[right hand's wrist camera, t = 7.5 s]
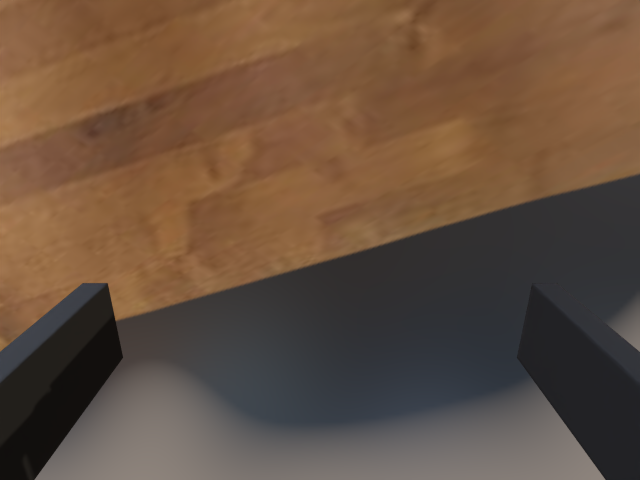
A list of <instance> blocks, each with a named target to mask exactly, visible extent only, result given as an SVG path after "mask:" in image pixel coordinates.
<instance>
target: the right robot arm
mask: <svg viewBox="0 0 640 480" xmlns="http://www.w3.org/2000/svg"><path fill="white" fill-rule="evenodd" d="M122 358H123V355H122V351H121V346H120V341H119V336H118V331H117V326H116V321H115V317H114V312H113V307H112V302H111V297H110V292H109V288H108V283H83V284H81V285H80V286H79V287H78V288H77V289H75V290H74V291H73V292H72V293H71V294H69V295H68V296H67V297H66V298H65V299H63V300H62V301H61V302H60V303H59V304H57V305H56V306H55V307H54V308H53V309H51V310H50V311H49V312H48V313H47V314H45V315H44V316H43V317H42V318H41V319H39V320H38V321H37V322H36V323H34V324H33V325H32V326H31V327H30V328H28V329H27V330H26V331H25V332H24V333H22V334H21V335H20V336H19V337H18V338H16V339H15V340H14V341H13V342H12V343H10V344H9V345H8V346H7V347H6V348H4V349H3V350H2V351H1V352H0V480H34V479H35V478H36V477H37V475H38V474H39V473H40V471H41V470H42V468H43V467H44V466H45V464H46V463H47V462H48V460H49V459H50V457H51V456H52V455H53V453H54V452H55V451H56V449H57V448H58V446H59V445H60V444H61V442H62V441H63V440H64V438H65V437H66V435H67V434H68V433H69V431H70V430H71V428H72V427H73V426H74V424H75V423H76V422H77V420H78V419H79V417H80V416H81V415H82V413H83V412H84V411H85V409H86V408H87V406H88V405H89V404H90V402H91V401H92V400H93V398H94V397H95V395H96V394H97V393H98V391H99V390H100V389H101V387H102V386H103V384H104V383H105V382H106V380H107V379H108V378H109V376H110V375H111V373H112V372H113V371H114V369H115V368H116V366H117V365H118V364H119V362H120V361H121V360H122ZM517 358H518V360H519V361H520V362H521V364H522V365H523V366H524V368H525V369H526V371H527V372H528V373H529V375H530V376H531V378H532V379H533V380H534V382H535V383H536V384H537V386H538V387H539V389H540V390H541V391H542V393H543V394H544V395H545V397H546V398H547V400H548V401H549V402H550V404H551V405H552V406H553V408H554V409H555V411H556V412H557V413H558V415H559V416H560V417H561V419H562V420H563V422H564V423H565V424H566V426H567V427H568V428H569V430H570V431H571V433H572V434H573V435H574V437H575V438H576V440H577V441H578V442H579V444H580V445H581V446H582V448H583V449H584V450H585V452H586V453H587V455H588V456H589V457H590V459H591V460H592V462H593V463H594V464H595V466H596V467H597V468H598V470H599V471H600V473H601V474H602V475H603V477H604V478H605V479H606V480H640V352H639V351H638V350H637V349H636V348H634V347H633V346H632V345H631V344H629V343H628V342H627V341H626V340H625V339H624V338H622V337H621V336H620V335H619V334H618V333H616V332H615V331H614V330H613V329H611V328H610V327H609V326H608V325H607V324H605V323H604V322H603V321H602V320H601V319H599V318H598V317H597V316H596V315H595V314H593V313H592V312H591V311H590V310H589V309H587V308H586V307H585V306H584V305H583V304H581V303H580V302H579V301H578V300H577V299H575V298H574V297H573V296H572V295H571V294H569V293H568V292H567V291H566V290H565V289H563V288H562V287H561V286H560V285H559V284H557V283H533V284H532V288H531V292H530V297H529V302H528V307H527V312H526V317H525V321H524V326H523V331H522V336H521V341H520V346H519V350H518V355H517Z"/></svg>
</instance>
